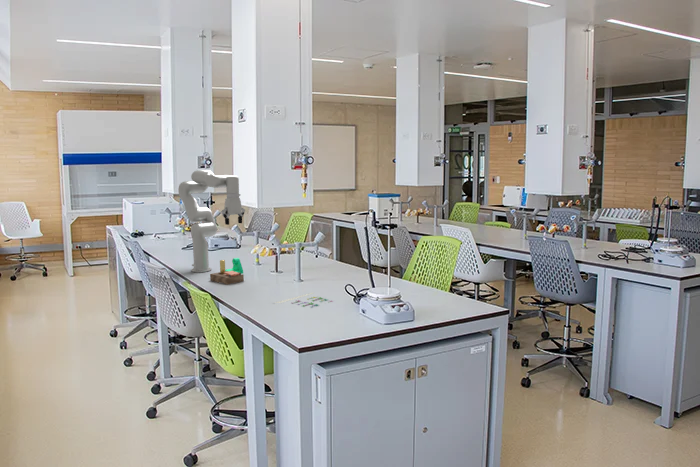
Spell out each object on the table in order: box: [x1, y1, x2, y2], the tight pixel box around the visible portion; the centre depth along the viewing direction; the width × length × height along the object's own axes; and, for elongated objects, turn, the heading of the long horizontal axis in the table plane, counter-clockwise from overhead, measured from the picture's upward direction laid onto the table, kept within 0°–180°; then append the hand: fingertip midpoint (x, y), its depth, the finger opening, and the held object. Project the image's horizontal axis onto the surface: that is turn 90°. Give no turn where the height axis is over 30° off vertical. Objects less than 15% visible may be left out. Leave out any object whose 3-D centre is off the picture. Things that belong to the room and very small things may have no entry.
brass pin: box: [219, 259, 226, 274], centre depth 345 cm, size 3×3×12 cm
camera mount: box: [225, 257, 244, 275], centre depth 362 cm, size 12×8×10 cm, turn 39°
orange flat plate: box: [224, 271, 240, 276], centre depth 339 cm, size 7×6×1 cm
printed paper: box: [274, 292, 334, 308], centre depth 290 cm, size 30×30×2 cm
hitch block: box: [209, 271, 245, 285], centre depth 342 cm, size 17×12×5 cm
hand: (233, 223), depth 349 cm, fingers open, 9 cm apart
